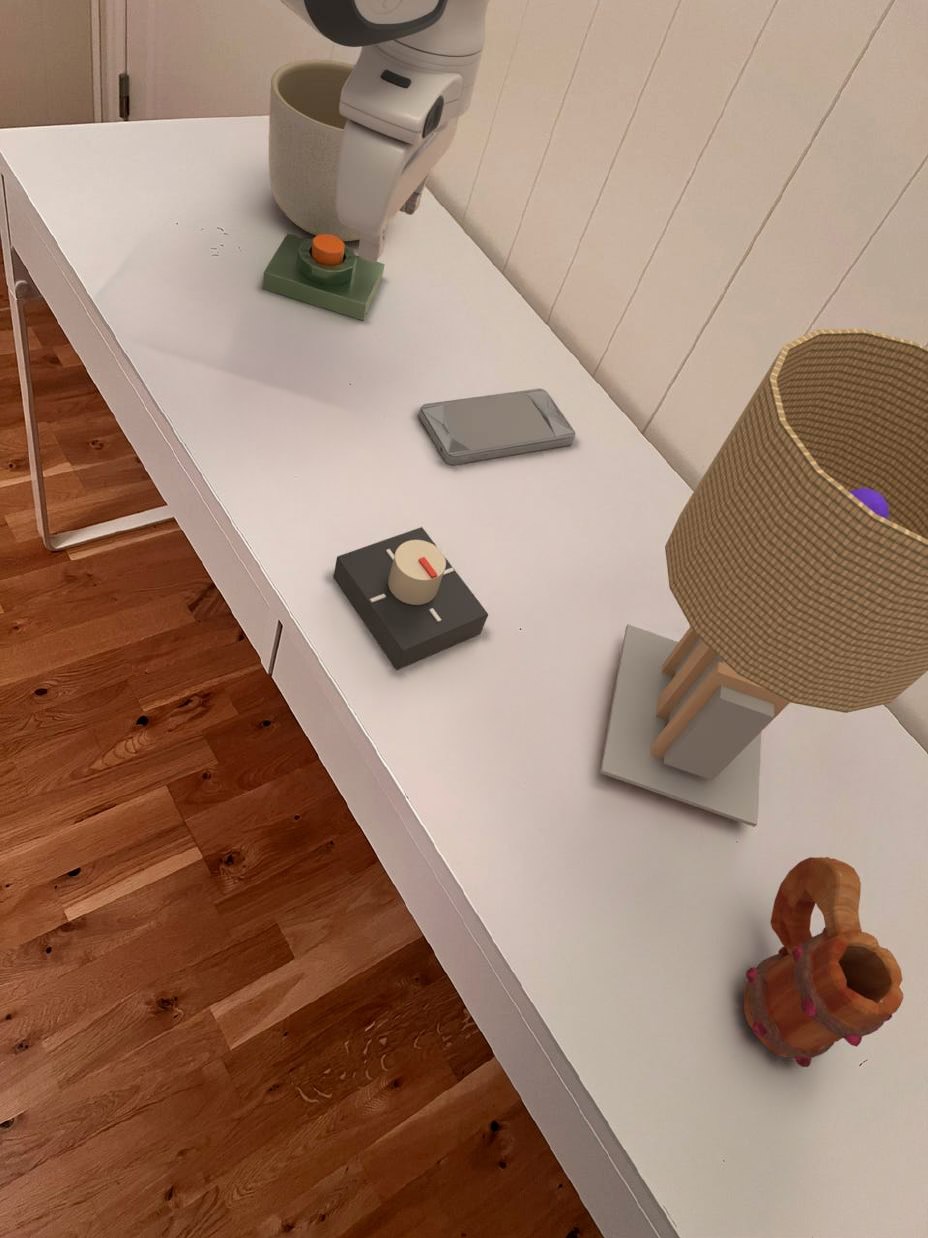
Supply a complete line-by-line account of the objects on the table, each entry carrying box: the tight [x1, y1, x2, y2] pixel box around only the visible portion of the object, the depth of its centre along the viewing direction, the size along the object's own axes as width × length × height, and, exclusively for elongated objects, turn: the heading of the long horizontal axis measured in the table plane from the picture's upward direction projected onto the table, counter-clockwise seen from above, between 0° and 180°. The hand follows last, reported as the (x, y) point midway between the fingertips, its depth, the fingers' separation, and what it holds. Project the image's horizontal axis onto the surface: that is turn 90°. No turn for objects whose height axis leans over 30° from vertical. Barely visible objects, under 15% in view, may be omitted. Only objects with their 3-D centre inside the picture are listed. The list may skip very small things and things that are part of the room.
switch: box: [312, 234, 346, 265], centre depth 103 cm, size 4×4×2 cm
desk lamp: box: [599, 328, 928, 828], centre depth 66 cm, size 20×20×35 cm
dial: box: [388, 540, 447, 605], centre depth 77 cm, size 4×4×4 cm
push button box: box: [262, 232, 385, 321], centre depth 105 cm, size 12×9×4 cm
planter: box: [268, 59, 360, 242], centre depth 109 cm, size 17×17×15 cm
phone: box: [418, 388, 576, 466], centre depth 97 cm, size 8×16×1 cm, turn 116°
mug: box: [742, 856, 904, 1068], centre depth 63 cm, size 12×7×13 cm, turn 179°
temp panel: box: [332, 526, 489, 671], centre depth 80 cm, size 11×9×3 cm
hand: (389, 232), depth 81 cm, fingers open, 8 cm apart
